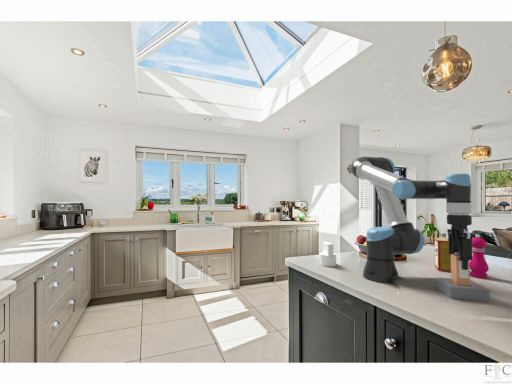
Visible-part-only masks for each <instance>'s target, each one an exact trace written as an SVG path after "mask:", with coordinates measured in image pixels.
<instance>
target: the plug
mask: <svg viewBox="0 0 512 384" xmlns="http://www.w3.org/2000/svg"><path fill="white" fill-rule="evenodd" d="M458 259H460V254H459V252H454V254H451V272H450V278H451V282H452V283H454V284H456V285H467V286H470V280H471V278H470V276H471V275H470V272H471V269H470V268H469V263H470V260H469V261H468V278H469V279H467V278H459V260H458Z"/></svg>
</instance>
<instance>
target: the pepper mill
mask: <svg viewBox="0 0 512 384" xmlns="http://www.w3.org/2000/svg"><path fill="white" fill-rule="evenodd" d="M486 246H487V242H486V240H485V239H484V238H482V237H481V235H480V234H478V233H477V234H475V237H473V238H472V260H469V270H470V276H471V277H473V278H476V279H488V273H487V272H489V264H488V262H487V261H486V258H485V252H486V249H485V247H486Z"/></svg>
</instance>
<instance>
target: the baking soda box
mask: <svg viewBox="0 0 512 384" xmlns="http://www.w3.org/2000/svg"><path fill="white" fill-rule="evenodd" d="M434 267H435V269H436V270H437V271H439V272H444V273H446V272H448V273H451V254H449V245H448V238H443V237H440V238H439V237H434Z"/></svg>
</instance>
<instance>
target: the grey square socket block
mask: <svg viewBox="0 0 512 384" xmlns="http://www.w3.org/2000/svg"><path fill="white" fill-rule="evenodd" d="M435 288H436V290H439V292H441V293H442V294H444V295H445V296H446V297H448V298H449V299H452V300H455V299H456V300H467V301H479V302H490V289H488V288H487V287H485V286H483V285H481V284H479V283H477V282H476V281H474V280H472V279H470V286H467V285H456V284H454V283H452V282H451V277H435Z"/></svg>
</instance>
